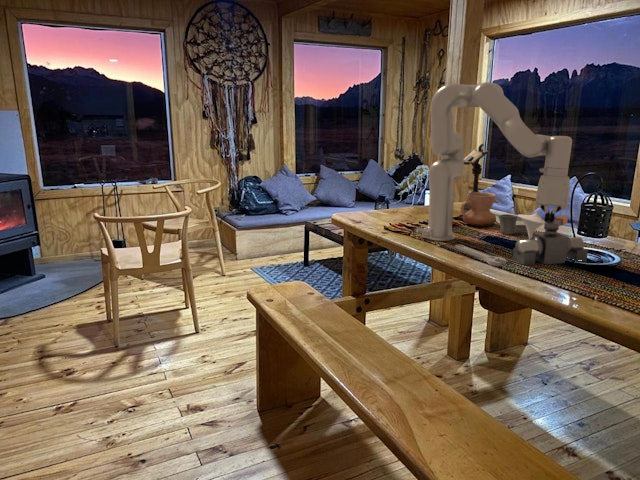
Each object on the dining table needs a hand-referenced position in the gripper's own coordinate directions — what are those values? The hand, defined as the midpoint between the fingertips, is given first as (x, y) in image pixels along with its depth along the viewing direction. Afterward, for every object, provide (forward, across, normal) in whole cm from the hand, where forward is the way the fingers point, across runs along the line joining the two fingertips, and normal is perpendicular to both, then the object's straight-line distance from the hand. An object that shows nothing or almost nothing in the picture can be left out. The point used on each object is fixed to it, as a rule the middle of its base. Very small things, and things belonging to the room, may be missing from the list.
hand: (548, 224), depth 171 cm
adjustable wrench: (+12, -20, -14) cm, 27 cm away
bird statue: (+12, -38, +63) cm, 75 cm away
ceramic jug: (+12, -30, +37) cm, 49 cm away
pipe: (+11, -14, +25) cm, 31 cm away
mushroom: (+11, -6, +15) cm, 19 cm away
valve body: (+11, +2, -9) cm, 14 cm away
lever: (0, +3, -3) cm, 4 cm away
